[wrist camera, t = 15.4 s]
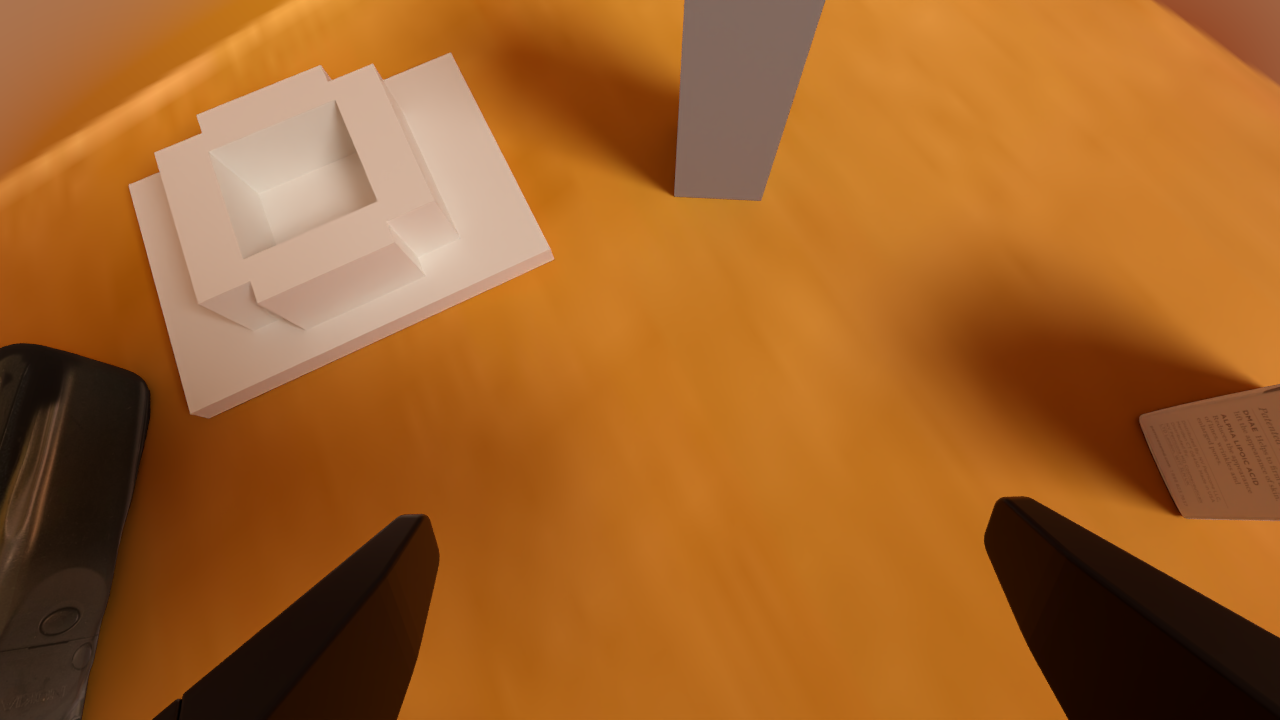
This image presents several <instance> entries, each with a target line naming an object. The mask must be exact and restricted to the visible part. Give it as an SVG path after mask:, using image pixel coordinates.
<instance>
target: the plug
mask: <svg viewBox="0 0 1280 720" xmlns="http://www.w3.org/2000/svg"><path fill="white" fill-rule="evenodd" d="M824 3H825V0H685V4H684V22H683V41H682V59H681V78H680V96H679V114H678V133H677V151H676V170H675V188H674V196H676V197H697V198H717V199H738V200H759V201H761V199H762V196H763V193H764V189H765V186H766V183H767V180H768V177H769V174H770V171H771V168H772V165H773V161H774V158H775V155H776V152H777V149H778V146H779V143H780V140H781V137H782V133H783V130H784V127H785V124H786V121H787V118H788V115H789V112H790V109H791V105H792V102H793V99H794V96H795V93H796V90H797V87H798V84H799V80H800V77H801V74H802V71H803V68H804V65H805V62H806V59H807V56H808V52H809V49H810V46H811V43H812V40H813V37H814V34H815V31H816V28H817V24H818V21H819V18H820V15H821V12H822V9H823V6H824Z"/></svg>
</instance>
